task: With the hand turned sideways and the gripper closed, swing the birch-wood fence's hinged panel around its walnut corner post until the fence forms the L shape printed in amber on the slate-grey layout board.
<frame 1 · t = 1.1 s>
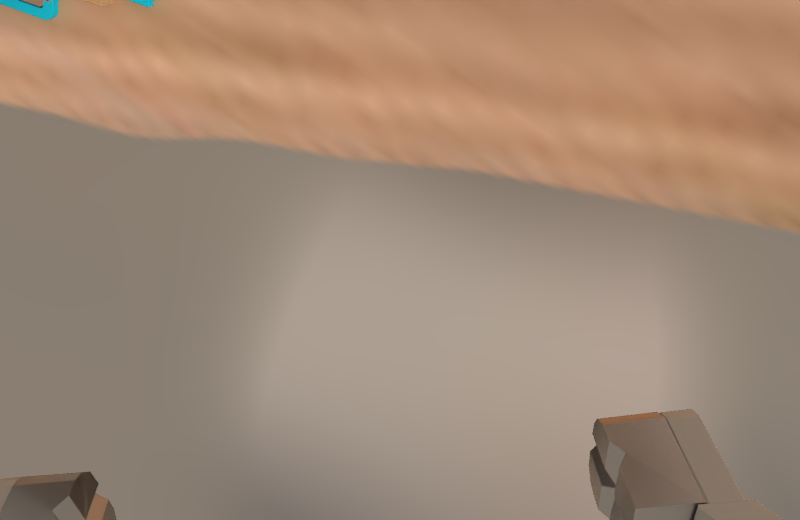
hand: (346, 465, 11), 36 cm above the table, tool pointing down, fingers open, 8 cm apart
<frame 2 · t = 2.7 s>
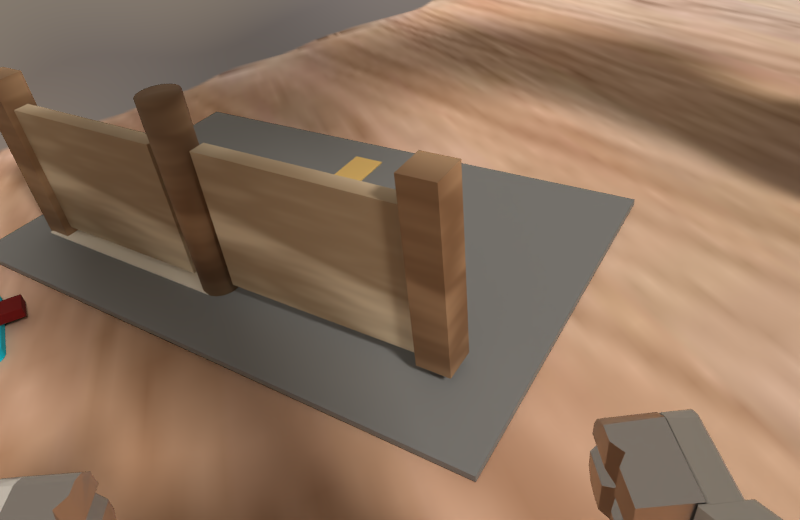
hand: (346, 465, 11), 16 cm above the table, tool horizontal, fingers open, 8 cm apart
layout board: (298, 231, 45), on the table
fence panel: (322, 239, 33), point 7 cm above the table, hinge at 0.0°
fence fixed: (223, 288, 41), resting on layout board
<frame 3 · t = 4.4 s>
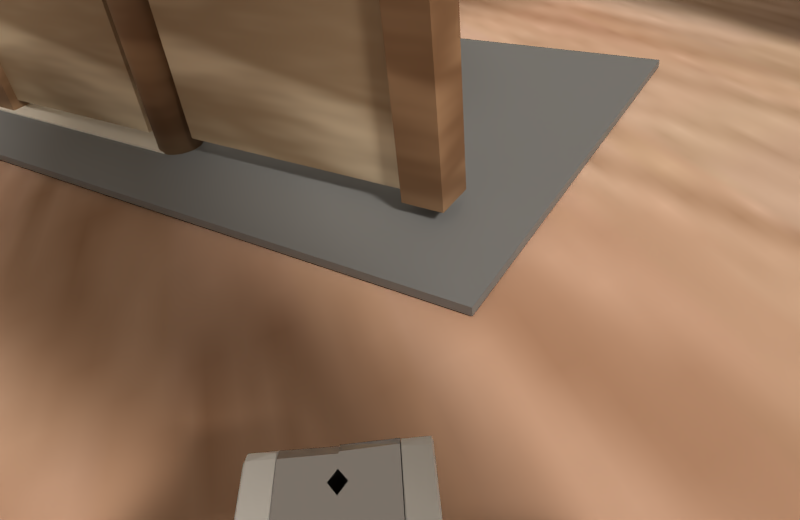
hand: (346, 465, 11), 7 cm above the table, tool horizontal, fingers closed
layout board: (274, 100, 40), on the table
fence panel: (289, 48, 27), point 7 cm above the table, hinge at 0.0°
fence fixed: (183, 150, 35), resting on layout board
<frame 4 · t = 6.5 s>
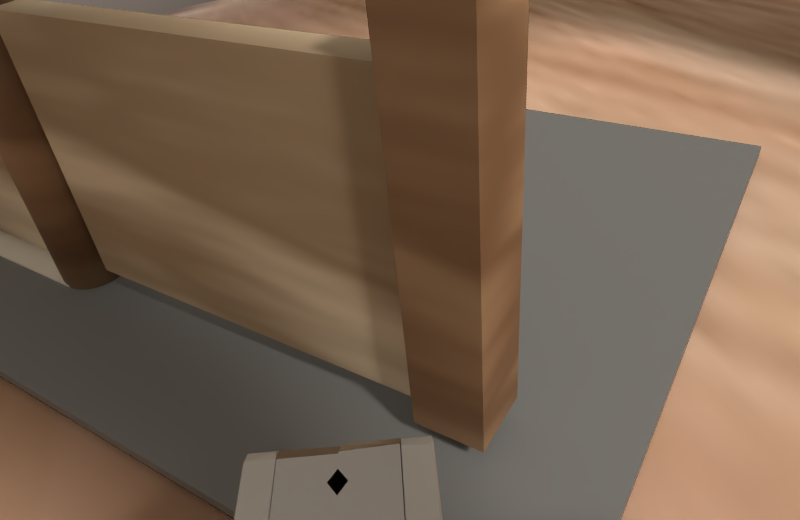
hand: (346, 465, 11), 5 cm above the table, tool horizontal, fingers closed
layout board: (236, 193, 29), on the table
fence panel: (234, 173, 17), point 7 cm above the table, hinge at 0.0°
fence fixed: (100, 277, 25), resting on layout board
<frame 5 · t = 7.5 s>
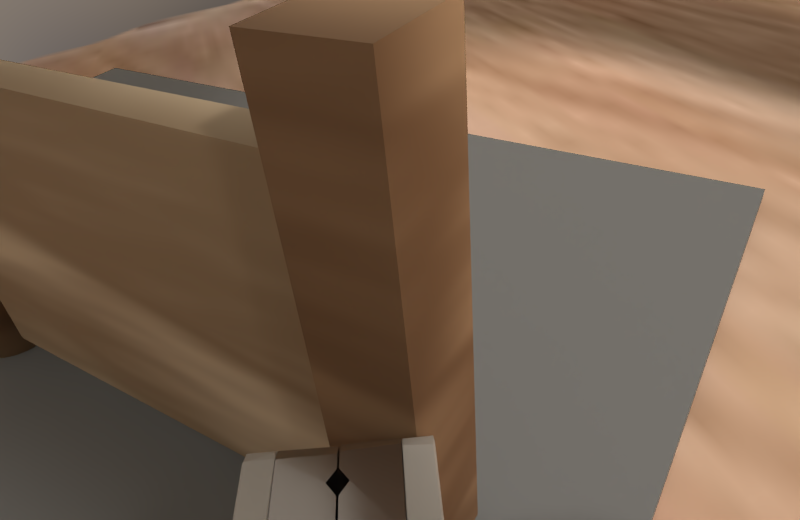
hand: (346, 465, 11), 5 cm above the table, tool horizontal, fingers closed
layout board: (185, 237, 27), on the table
fence panel: (139, 252, 14), point 7 cm above the table, hinge at 0.4°, touching gripper
fence fixed: (23, 341, 22), resting on layout board
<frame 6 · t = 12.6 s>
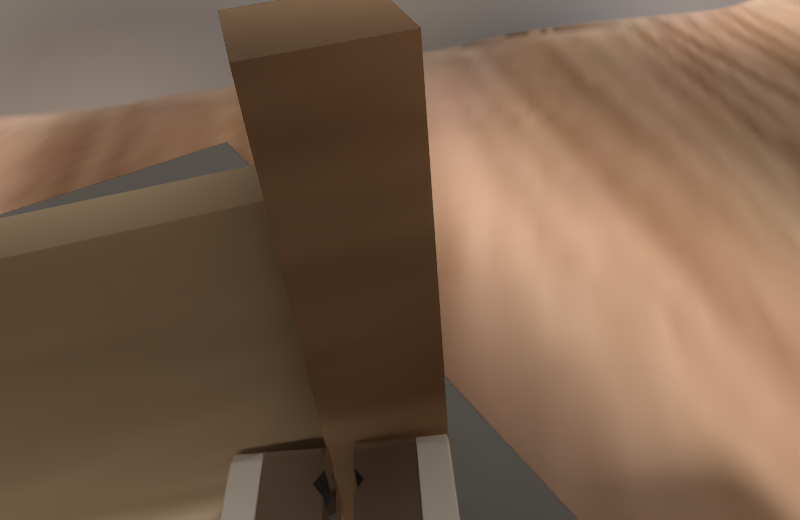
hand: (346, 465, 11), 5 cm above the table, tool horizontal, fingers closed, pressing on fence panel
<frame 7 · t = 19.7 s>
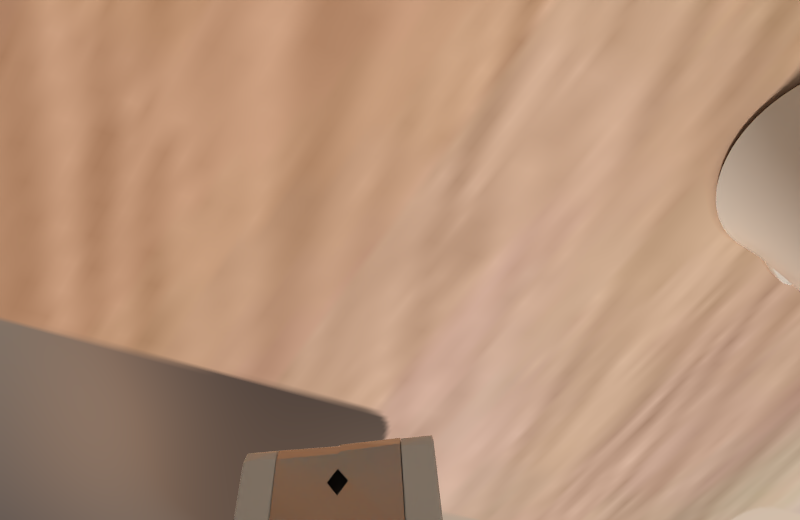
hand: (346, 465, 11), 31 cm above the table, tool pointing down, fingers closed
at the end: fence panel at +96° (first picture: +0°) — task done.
